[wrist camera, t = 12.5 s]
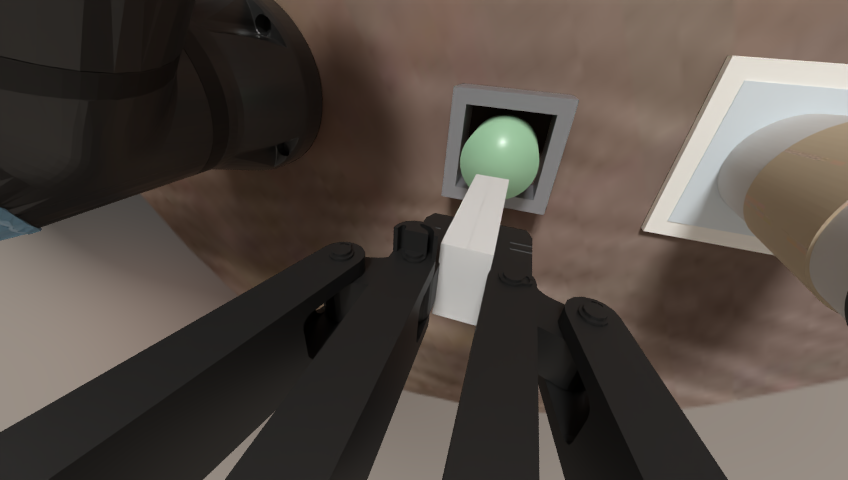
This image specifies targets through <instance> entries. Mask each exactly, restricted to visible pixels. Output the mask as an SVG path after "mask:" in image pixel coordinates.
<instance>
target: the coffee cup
mask: <svg viewBox="0 0 848 480" xmlns="http://www.w3.org/2000/svg"><path fill="white" fill-rule="evenodd" d="M717 186H718V191H719V194H720V196H721V198H722V199H723V201H724V202H725V203H726V204H727V205H728V206H729V207H730V208H731V209H732V210H733V211H734V212H735V213H736V214H737V215H738V216H739V217H740V218H741V219H743V220H744V221H745V222H746V224H747V226H748V228H749V229H750V231H751V232H752V233H753V234H754V235H755V236H756V237H757V238H758V239H759V240H760V241H761V242H762V243H763V244H764V245H765V246H766V247H767V248H768V249H769V250H770V251H771V252H772V253H773V254H774V255H775V256H776V257H777V258H778V259H779V260H780V261H781V262H782V263H783V264H784V265H785V266H786V267H787V268H788V269H789V270H790V271H791V272H792V273H793V274H794V275H795V276H796V277H797V278H798V279H799V280H800V281H801V282H802V283H803V284H804V285H805V286H806V287H807V288H808V289H809V290H810V291H811V292H812V293H813V294H814V295H815V296H816V297H817V298H818V299H819V300H820V301H821V302H822V303H823V304H824V305H826V306H827V307H828V308H830V309H831V310H833V311H835V312H837V313H839V314H840V315H841V316H842V317H843V318H844V319H845V320H846V322H847V325H848V116H846V115H832V114H804V115H798V116H793V117H789V118H785V119H782V120H779V121H776V122H774V123H772V124H769V125H767V126H765V127H763V128H761V129H759V130H757V131H756V132H754V133H753V134H751V135H750V136H748V137H747V138H745V139H744V140H743V141H742V142H740V143H739V144H738V145H737V146H736V147H735V148H734V149H733V150H732V151H731V152H730V154H729V155H728V156H727V158H726V159H725V161H724V162H723V164H722V166H721V168H720V171H719V174H718V180H717Z"/></svg>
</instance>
